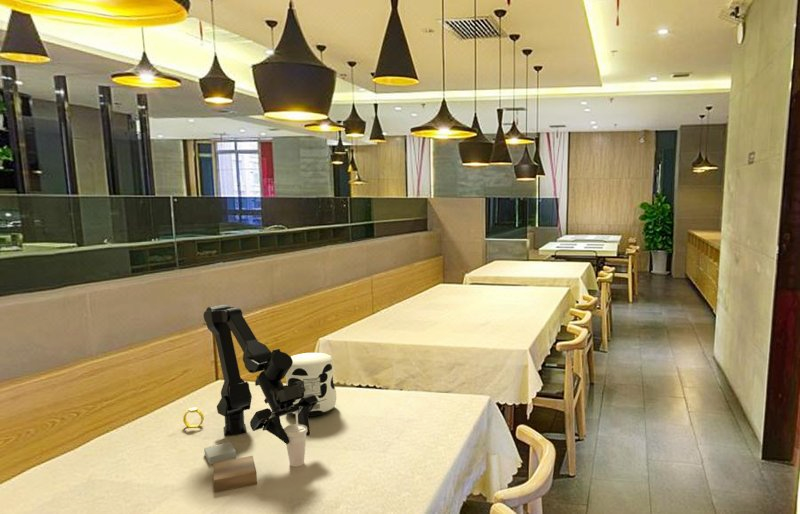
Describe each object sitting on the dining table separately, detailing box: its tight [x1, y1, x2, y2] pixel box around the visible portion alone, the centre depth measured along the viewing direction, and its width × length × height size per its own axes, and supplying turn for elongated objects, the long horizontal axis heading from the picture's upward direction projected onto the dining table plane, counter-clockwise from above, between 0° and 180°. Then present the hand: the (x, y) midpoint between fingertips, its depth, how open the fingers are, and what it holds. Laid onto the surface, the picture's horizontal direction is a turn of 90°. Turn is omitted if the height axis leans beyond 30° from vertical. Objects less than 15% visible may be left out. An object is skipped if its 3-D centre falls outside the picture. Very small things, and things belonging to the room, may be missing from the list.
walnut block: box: [212, 455, 258, 493], centre depth 138 cm, size 10×10×3 cm
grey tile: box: [203, 441, 237, 465], centre depth 151 cm, size 7×7×2 cm
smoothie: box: [283, 412, 308, 468], centre depth 145 cm, size 6×6×14 cm
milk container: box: [285, 352, 337, 417], centre depth 183 cm, size 17×17×18 cm
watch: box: [182, 407, 205, 428], centre depth 173 cm, size 6×3×6 cm, turn 91°
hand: (298, 439), depth 144 cm, fingers closed on smoothie, 6 cm apart
